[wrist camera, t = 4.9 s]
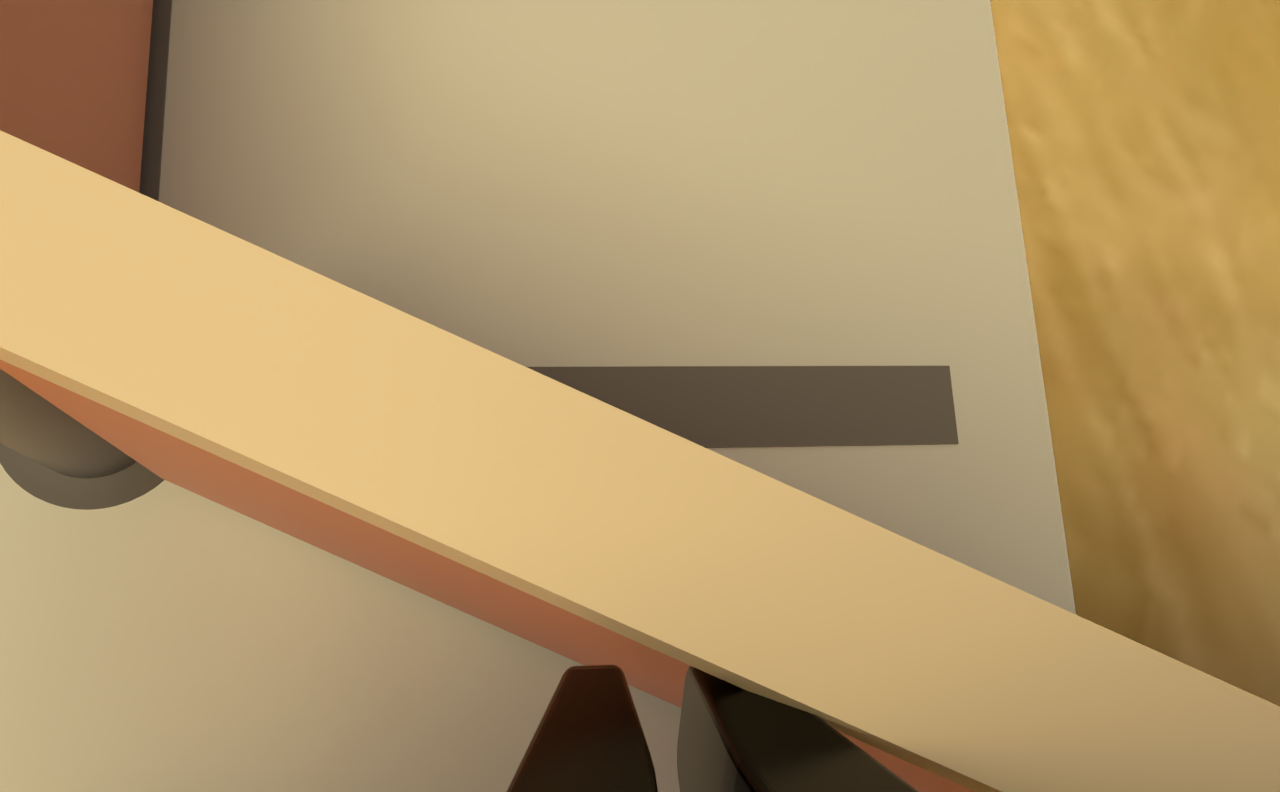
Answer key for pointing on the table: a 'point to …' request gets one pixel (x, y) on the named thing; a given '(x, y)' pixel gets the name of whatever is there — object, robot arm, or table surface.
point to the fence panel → (573, 510)
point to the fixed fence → (85, 135)
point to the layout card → (542, 347)
